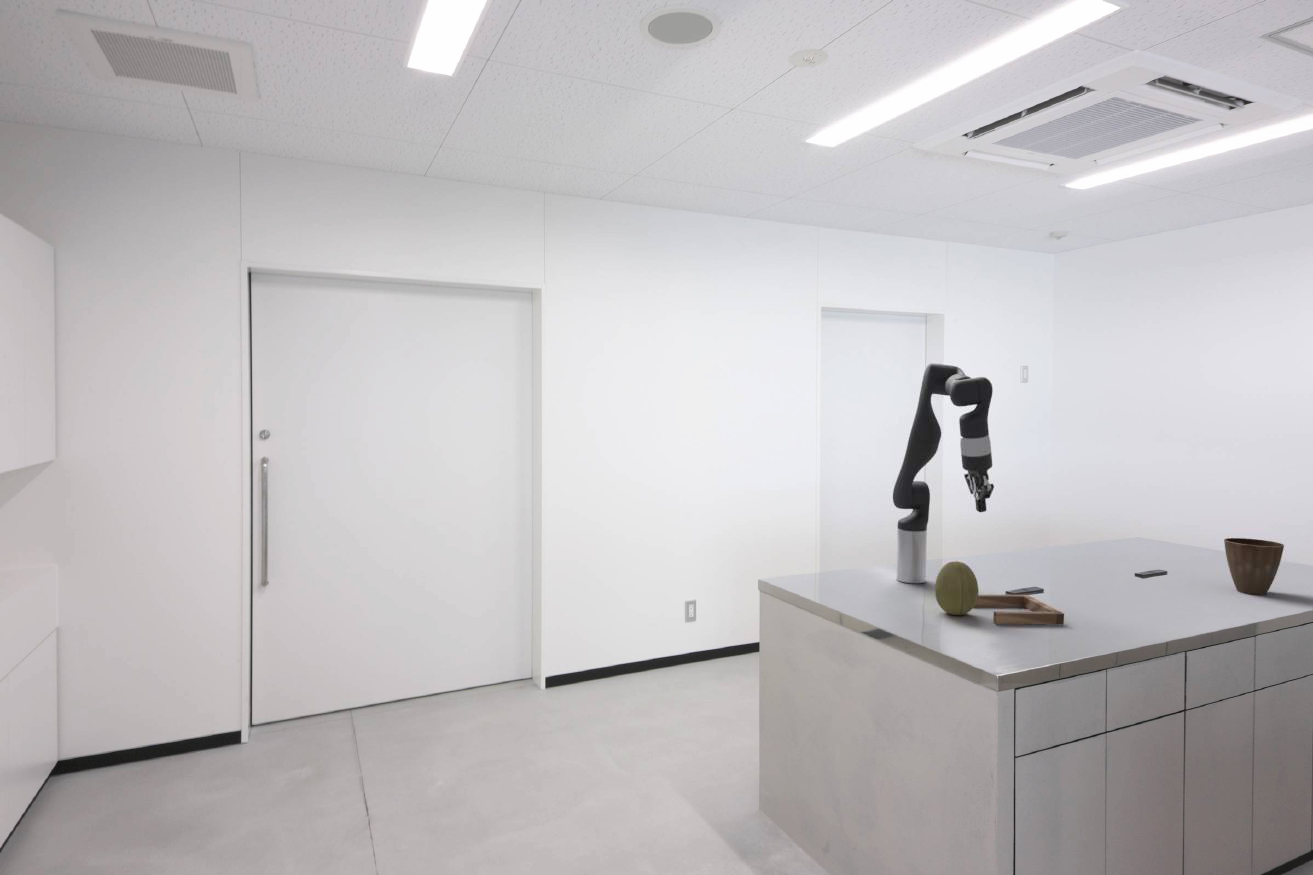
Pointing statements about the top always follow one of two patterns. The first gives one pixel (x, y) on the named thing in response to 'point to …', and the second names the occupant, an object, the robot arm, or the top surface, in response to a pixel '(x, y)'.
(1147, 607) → the top surface
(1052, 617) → the walnut bay
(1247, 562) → the plant pot
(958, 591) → the fruit
